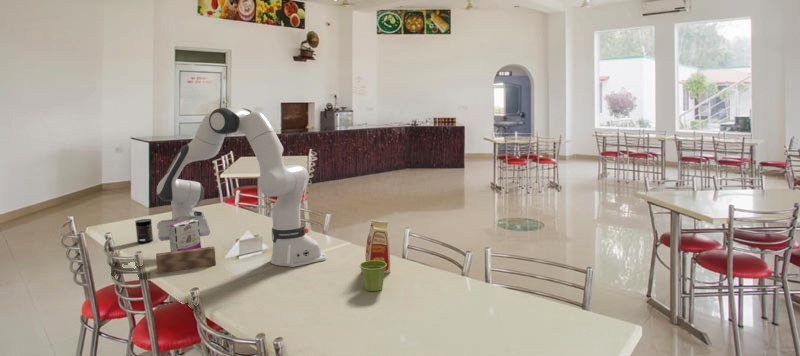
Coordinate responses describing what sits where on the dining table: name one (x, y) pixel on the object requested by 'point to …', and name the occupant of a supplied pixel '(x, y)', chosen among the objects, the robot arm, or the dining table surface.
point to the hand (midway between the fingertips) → (185, 245)
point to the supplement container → (144, 231)
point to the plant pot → (373, 274)
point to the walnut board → (185, 259)
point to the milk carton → (378, 244)
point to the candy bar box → (184, 235)
